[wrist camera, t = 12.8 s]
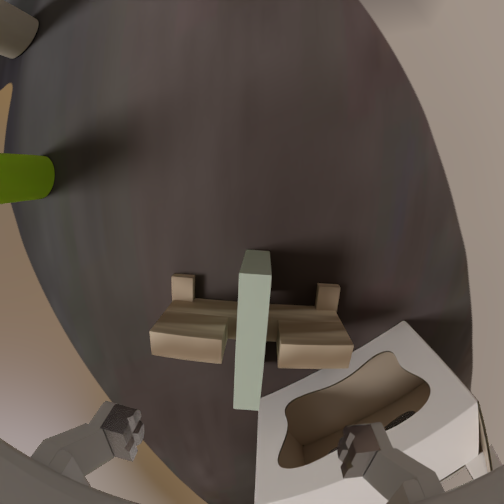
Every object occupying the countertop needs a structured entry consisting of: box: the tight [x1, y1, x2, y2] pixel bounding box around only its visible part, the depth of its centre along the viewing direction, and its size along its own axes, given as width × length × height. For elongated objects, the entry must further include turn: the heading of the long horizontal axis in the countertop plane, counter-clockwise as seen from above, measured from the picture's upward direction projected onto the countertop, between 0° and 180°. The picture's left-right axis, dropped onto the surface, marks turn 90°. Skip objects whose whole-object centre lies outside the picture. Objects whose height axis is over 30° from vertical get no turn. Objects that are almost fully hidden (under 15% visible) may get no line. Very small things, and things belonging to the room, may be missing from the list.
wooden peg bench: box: [149, 273, 354, 369], centre depth 28 cm, size 8×18×9 cm, turn 87°
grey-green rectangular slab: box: [233, 250, 272, 410], centre depth 28 cm, size 14×2×9 cm, turn 177°
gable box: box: [254, 321, 502, 504], centre depth 21 cm, size 22×13×28 cm, turn 122°
